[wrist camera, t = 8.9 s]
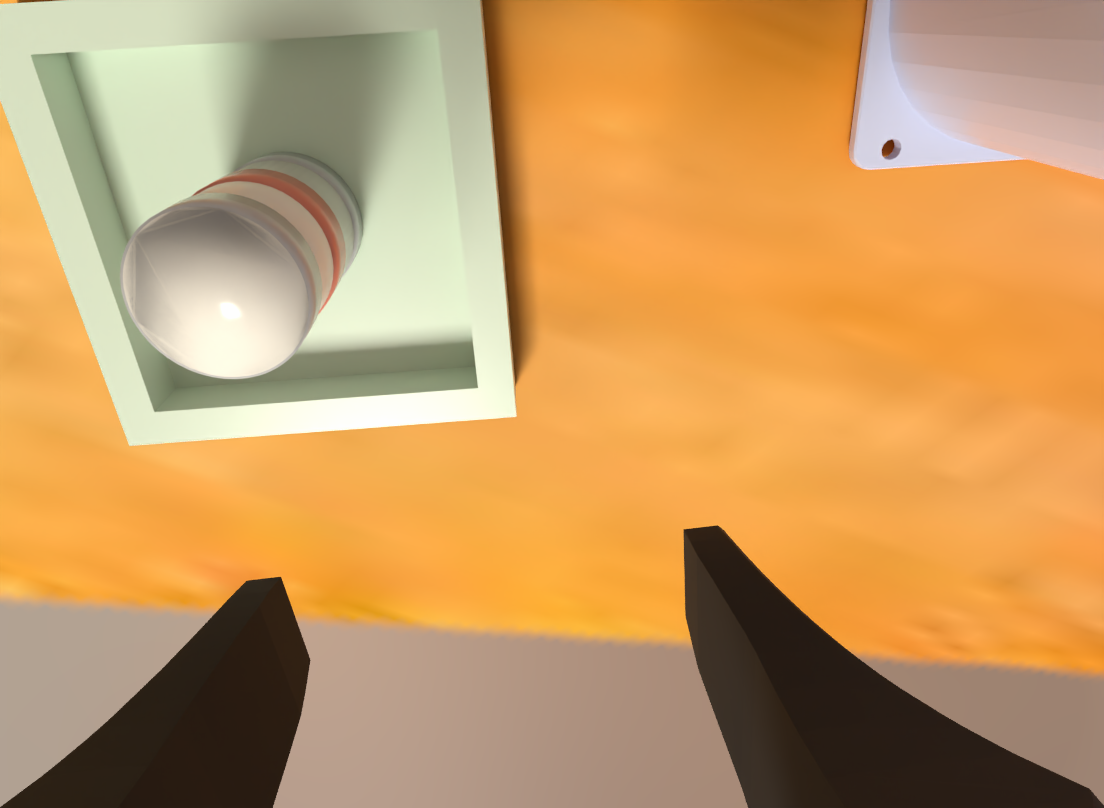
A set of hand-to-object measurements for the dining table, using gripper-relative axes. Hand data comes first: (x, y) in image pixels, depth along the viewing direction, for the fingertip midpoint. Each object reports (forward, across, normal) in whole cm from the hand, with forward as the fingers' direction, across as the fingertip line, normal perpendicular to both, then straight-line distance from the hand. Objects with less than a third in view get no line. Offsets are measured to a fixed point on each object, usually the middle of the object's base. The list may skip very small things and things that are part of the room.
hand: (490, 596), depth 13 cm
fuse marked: (+10, +5, -5) cm, 12 cm away
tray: (+10, +5, -5) cm, 12 cm away
